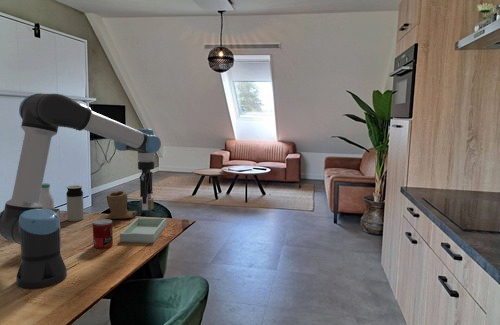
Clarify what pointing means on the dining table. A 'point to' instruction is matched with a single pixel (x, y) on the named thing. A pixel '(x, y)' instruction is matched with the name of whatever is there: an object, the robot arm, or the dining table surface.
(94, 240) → the canned food
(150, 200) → the walnut cube
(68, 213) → the travel mug
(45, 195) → the milk bottle
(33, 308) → the dining table surface
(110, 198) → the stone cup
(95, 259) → the dining table surface
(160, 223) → the tray
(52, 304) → the dining table surface
